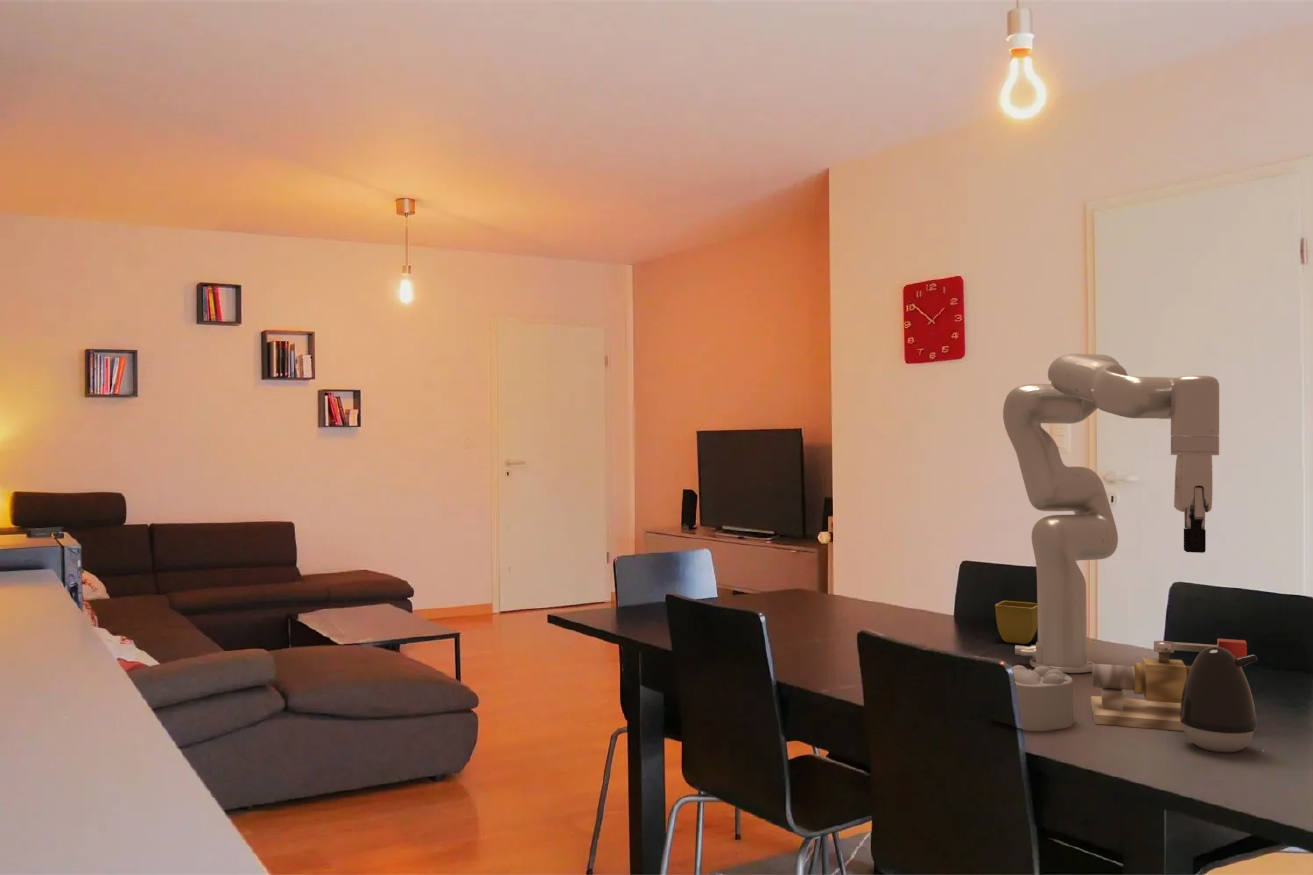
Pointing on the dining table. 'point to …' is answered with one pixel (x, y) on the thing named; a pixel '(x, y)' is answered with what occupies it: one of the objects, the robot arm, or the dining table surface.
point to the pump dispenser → (1218, 702)
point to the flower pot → (1016, 621)
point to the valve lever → (1203, 646)
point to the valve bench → (1152, 680)
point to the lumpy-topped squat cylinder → (1044, 698)
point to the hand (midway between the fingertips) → (1194, 551)
